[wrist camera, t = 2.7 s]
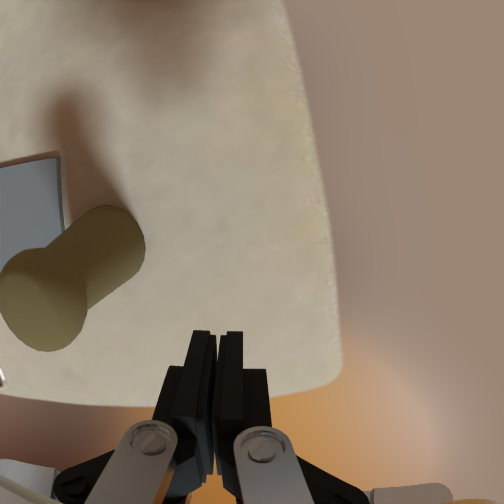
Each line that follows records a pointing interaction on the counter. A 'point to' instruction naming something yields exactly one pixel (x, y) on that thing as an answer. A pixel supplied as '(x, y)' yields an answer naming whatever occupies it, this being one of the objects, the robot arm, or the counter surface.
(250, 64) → the counter surface
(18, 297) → the olive brown rounded cylinder
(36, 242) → the grey mat
